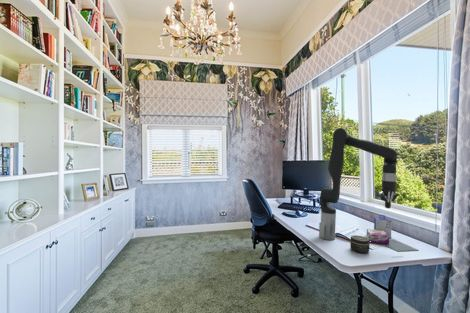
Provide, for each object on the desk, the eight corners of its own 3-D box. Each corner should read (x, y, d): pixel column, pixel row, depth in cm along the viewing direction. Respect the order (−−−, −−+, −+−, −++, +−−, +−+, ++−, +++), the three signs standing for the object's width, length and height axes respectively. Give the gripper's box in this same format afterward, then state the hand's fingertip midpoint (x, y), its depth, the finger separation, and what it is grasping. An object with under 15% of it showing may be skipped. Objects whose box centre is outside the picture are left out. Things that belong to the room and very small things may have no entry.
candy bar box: (369, 234, 151) (366, 228, 166) (369, 241, 150) (366, 235, 165) (389, 236, 146) (384, 230, 161) (389, 244, 146) (384, 237, 161)
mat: (397, 251, 137) (397, 250, 137) (374, 240, 155) (374, 239, 155) (418, 250, 140) (418, 250, 140) (393, 239, 158) (393, 239, 158)
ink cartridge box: (388, 235, 166) (389, 215, 166) (391, 238, 161) (392, 217, 161) (373, 234, 169) (373, 214, 168) (375, 236, 163) (376, 216, 163)
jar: (372, 255, 131) (372, 241, 131) (353, 253, 132) (353, 240, 132) (365, 248, 141) (365, 235, 141) (347, 246, 142) (348, 234, 142)
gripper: (384, 180, 141) (382, 209, 141) (403, 181, 143) (402, 209, 143) (374, 179, 148) (373, 206, 148) (393, 180, 150) (392, 207, 150)
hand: (387, 208), depth 146 cm, fingers closed
